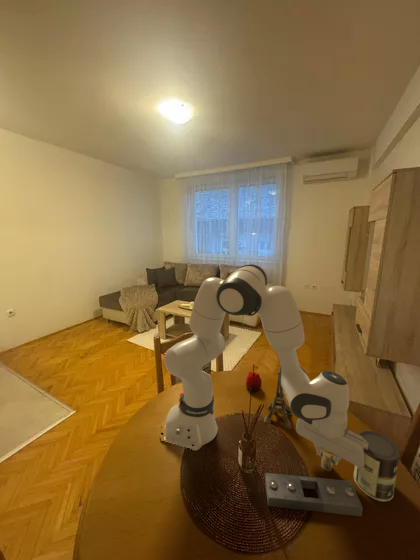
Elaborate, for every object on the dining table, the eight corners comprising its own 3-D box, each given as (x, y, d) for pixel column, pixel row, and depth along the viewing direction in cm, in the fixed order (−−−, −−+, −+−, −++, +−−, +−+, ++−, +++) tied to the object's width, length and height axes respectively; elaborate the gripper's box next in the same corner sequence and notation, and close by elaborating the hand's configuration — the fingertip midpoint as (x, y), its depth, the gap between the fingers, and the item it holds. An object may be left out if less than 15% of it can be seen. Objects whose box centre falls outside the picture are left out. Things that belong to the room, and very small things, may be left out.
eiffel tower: (291, 429, 93) (293, 371, 88) (263, 422, 97) (265, 366, 92) (292, 410, 103) (295, 357, 98) (267, 404, 106) (269, 353, 102)
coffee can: (391, 477, 74) (397, 438, 71) (395, 509, 65) (402, 467, 63) (353, 461, 79) (357, 425, 77) (352, 489, 71) (357, 449, 68)
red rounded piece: (262, 386, 119) (262, 358, 116) (260, 394, 113) (260, 366, 110) (247, 383, 122) (247, 356, 119) (244, 391, 116) (244, 363, 113)
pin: (322, 471, 76) (323, 450, 75) (318, 460, 80) (319, 440, 78) (335, 473, 76) (337, 452, 74) (330, 461, 80) (332, 441, 78)
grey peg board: (268, 505, 67) (268, 495, 66) (265, 480, 74) (265, 471, 73) (361, 516, 64) (363, 505, 63) (349, 489, 71) (351, 479, 70)
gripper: (371, 433, 70) (366, 472, 73) (302, 401, 83) (300, 435, 86) (367, 447, 65) (362, 488, 68) (294, 412, 79) (292, 447, 82)
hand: (327, 458), depth 77 cm, fingers closed on pin, 3 cm apart
